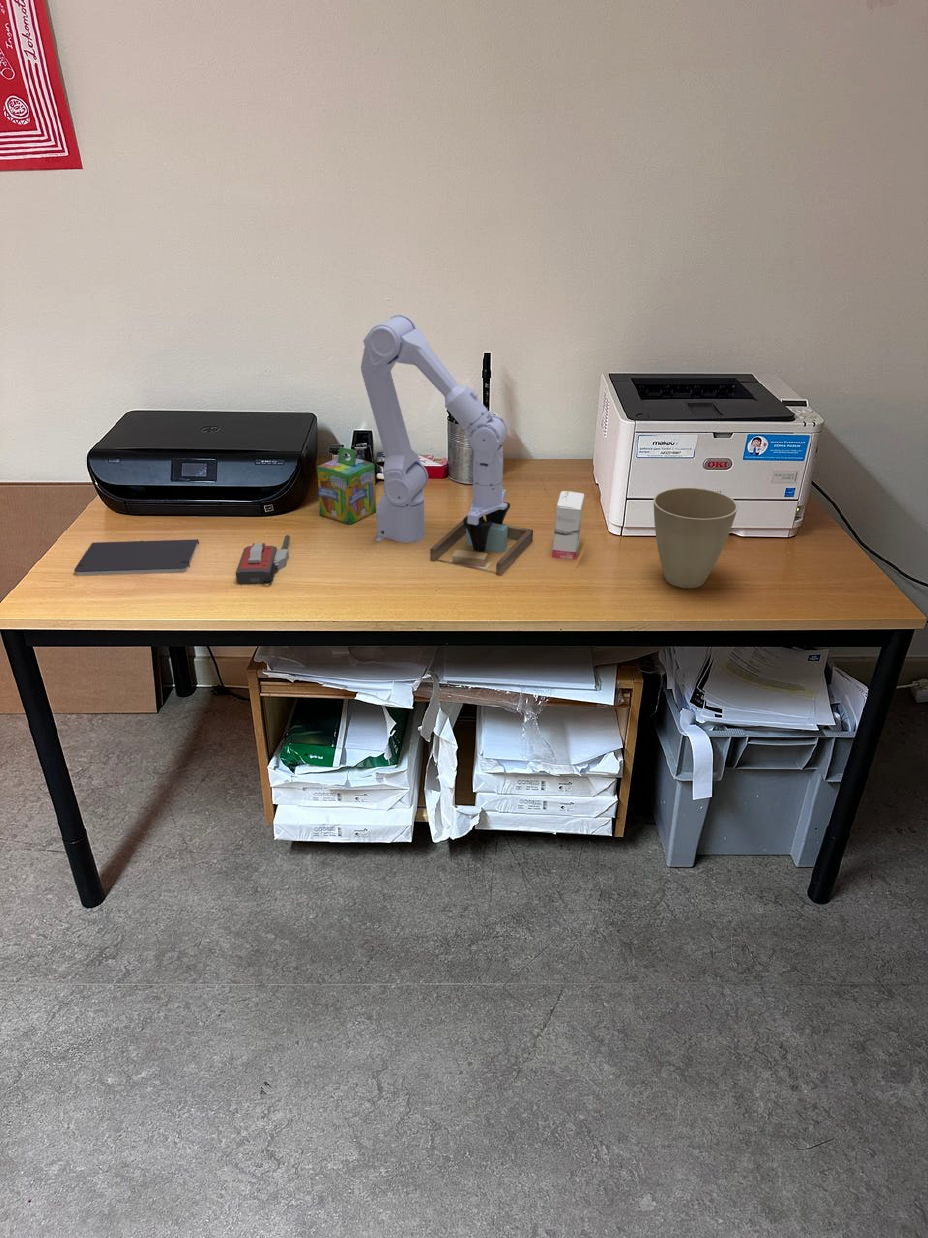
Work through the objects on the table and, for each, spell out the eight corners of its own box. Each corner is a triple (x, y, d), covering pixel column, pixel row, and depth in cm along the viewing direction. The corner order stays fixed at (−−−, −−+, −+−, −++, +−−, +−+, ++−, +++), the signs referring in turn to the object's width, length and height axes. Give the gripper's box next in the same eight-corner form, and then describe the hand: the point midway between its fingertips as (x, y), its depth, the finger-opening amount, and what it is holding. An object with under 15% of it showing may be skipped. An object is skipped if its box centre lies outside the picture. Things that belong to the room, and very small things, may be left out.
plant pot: (702, 558, 172) (714, 484, 164) (737, 594, 160) (753, 515, 151) (632, 565, 169) (641, 489, 161) (662, 602, 157) (674, 522, 149)
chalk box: (319, 515, 189) (313, 451, 182) (346, 502, 196) (342, 439, 188) (350, 526, 185) (346, 460, 177) (378, 512, 191) (375, 448, 184)
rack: (430, 564, 169) (430, 548, 167) (466, 532, 182) (466, 516, 181) (500, 580, 164) (501, 563, 162) (532, 545, 177) (533, 529, 175)
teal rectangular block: (466, 550, 175) (466, 523, 172) (470, 545, 177) (471, 518, 174) (502, 557, 172) (503, 530, 169) (506, 552, 174) (507, 525, 171)
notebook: (199, 546, 177) (93, 549, 176) (198, 539, 176) (92, 542, 175) (187, 574, 166) (74, 578, 165) (186, 567, 165) (72, 571, 164)
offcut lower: (449, 568, 169) (449, 561, 168) (455, 562, 171) (455, 555, 171) (486, 576, 166) (486, 569, 165) (492, 570, 168) (492, 563, 168)
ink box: (576, 564, 170) (581, 508, 164) (551, 561, 171) (554, 506, 165) (580, 545, 177) (584, 491, 171) (556, 543, 178) (559, 489, 172)
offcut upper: (452, 563, 168) (452, 555, 167) (455, 556, 170) (455, 549, 169) (484, 566, 166) (484, 559, 165) (487, 560, 169) (487, 553, 168)
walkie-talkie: (282, 588, 162) (293, 542, 179) (279, 567, 159) (291, 522, 176) (234, 589, 161) (250, 542, 178) (231, 568, 159) (248, 523, 176)
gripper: (491, 497, 160) (490, 562, 167) (520, 471, 171) (518, 533, 178) (457, 490, 162) (457, 555, 169) (488, 466, 174) (486, 527, 180)
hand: (486, 543), depth 174 cm, fingers open, 7 cm apart
